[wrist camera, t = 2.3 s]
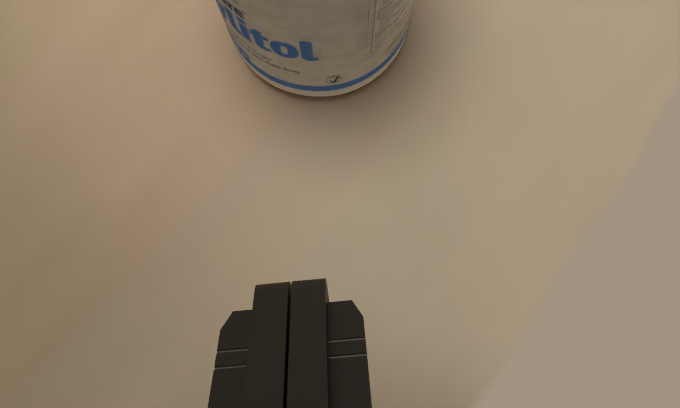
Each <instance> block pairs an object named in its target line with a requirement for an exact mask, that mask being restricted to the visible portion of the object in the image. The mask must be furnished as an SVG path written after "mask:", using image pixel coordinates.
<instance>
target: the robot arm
mask: <svg viewBox="0 0 680 408" xmlns="http://www.w3.org/2000/svg"><path fill="white" fill-rule="evenodd" d="M208 408H372V403H371V392H370V382H369V371H368V360H367V350H366V340H365V330H364V320H363V316H362V314H361V313H360V311H359V310H358V309H357V307H356V306H355V304H354V303H353V301H352V300H349V301H338V302H329V297H328V289H327V283H326V279H325V278H324V279H313V280H303V281H292V285H291V283H290V282H283V283H272V284H262V285H256V287H255V292H254V301H253V310H243V311H233V312H232V314H231V315H230V317H229V318H228V320H227V321H226V323H225V324H224V326H223V327H222V328H221V330H220V336H219V342H218V348H217V354H216V360H215V371H214V372H213V379H212V385H211V391H210V397H209V403H208Z"/></svg>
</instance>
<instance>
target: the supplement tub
mask: <svg viewBox="0 0 680 408" xmlns="http://www.w3.org/2000/svg"><path fill="white" fill-rule="evenodd" d="M216 2H217V4H218V6H219V9H220V11H221V13H222V16H223V18H224V21H225V23H226V26H227V29H228V31H229V33H230V35H231V37H232V39H233V41H234V44H235V46H236V48H237V50H238V52H239V53H240V55H241V57H242V58H243V60H244V61H245V62H246V63H247V64H248V66H249V67H250V68H251V69H252V70H253V71H254V72H255V73H256V74H257V75H259V76H260V77H261V78H262V79H264V80H265V81H267V82H268V83H270V84H271V85H273V86H275V87H277V88H279V89H282V90H284V91H287V92H291V93H295V94H299V95H305V96H317V97H322V96H335V95H340V94H344V93H348V92H351V91H353V90H356V89H358V88H360V87H362V86H364V85H366V84H368V83H369V82H371V81H372V80H374V79H375V78H376V77H378V76H379V75H380V74H381V73H382V72H383V71H384V70H385V69H387V68H388V66H389V65H390V64H391V63H392V62H393V60H394V59H395V58H396V56H397V55H398V53H399V51H400V49H401V47H402V45H403V43H404V40H405V38H406V35H407V31H408V27H409V22H410V18H411V13H412V8H413V4H414V0H216Z"/></svg>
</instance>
